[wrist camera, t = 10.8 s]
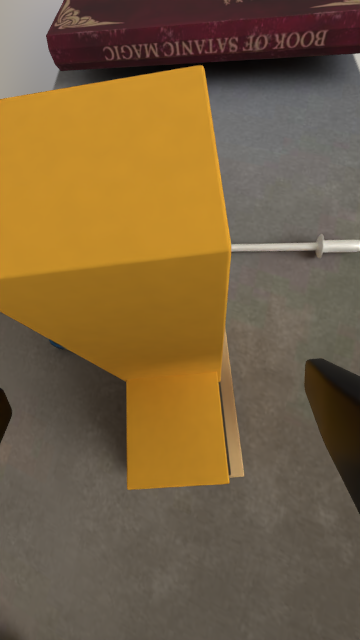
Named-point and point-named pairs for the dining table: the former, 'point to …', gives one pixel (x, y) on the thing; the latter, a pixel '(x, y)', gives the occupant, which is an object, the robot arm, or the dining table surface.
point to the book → (199, 31)
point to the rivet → (303, 246)
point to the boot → (126, 254)
